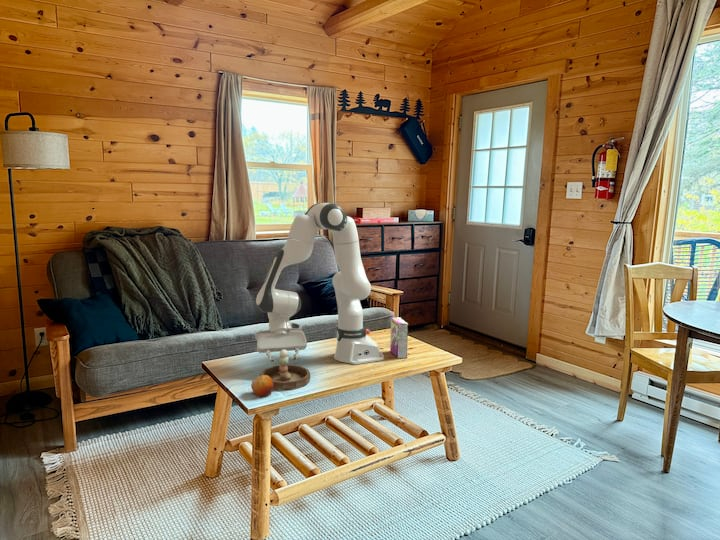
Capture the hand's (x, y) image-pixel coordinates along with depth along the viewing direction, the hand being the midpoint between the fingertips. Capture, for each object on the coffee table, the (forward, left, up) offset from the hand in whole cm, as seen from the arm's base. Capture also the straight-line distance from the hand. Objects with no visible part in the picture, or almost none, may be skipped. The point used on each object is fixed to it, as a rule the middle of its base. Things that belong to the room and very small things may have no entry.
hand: (283, 360), depth 199 cm
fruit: (+10, +16, -7) cm, 20 cm away
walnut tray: (0, +5, -7) cm, 8 cm away
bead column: (0, -1, -6) cm, 6 cm away
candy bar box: (-55, -14, -7) cm, 57 cm away
